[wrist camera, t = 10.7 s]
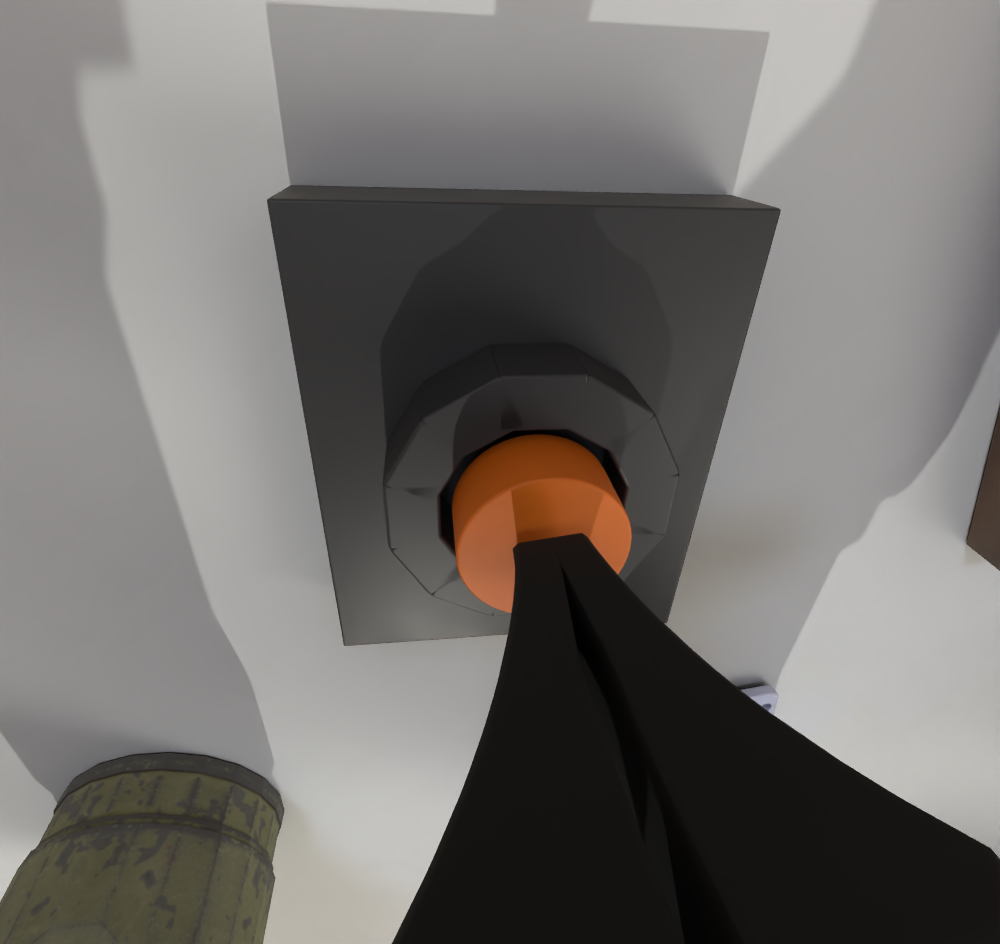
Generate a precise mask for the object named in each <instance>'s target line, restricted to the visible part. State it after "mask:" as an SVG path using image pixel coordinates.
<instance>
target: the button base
mask: <svg viewBox="0 0 1000 944" xmlns="http://www.w3.org/2000/svg"><path fill="white" fill-rule="evenodd" d="M267 204H268V209H269V215H270V221H271V227H272V233H273V238H274V244H275V250H276V256H277V261H278V267H279V273H280V279H281V285H282V290H283V296H284V302H285V308H286V313H287V319H288V325H289V331H290V336H291V342H292V348H293V354H294V360H295V365H296V371H297V377H298V383H299V388H300V394H301V400H302V406H303V412H304V417H305V423H306V429H307V435H308V440H309V446H310V452H311V458H312V463H313V469H314V475H315V481H316V487H317V492H318V498H319V504H320V510H321V515H322V521H323V527H324V533H325V539H326V544H327V550H328V556H329V562H330V567H331V573H332V579H333V585H334V590H335V596H336V602H337V608H338V614H339V619H340V625H341V631H342V637H343V642H344V645H345V646H350V645H364V644H378V643H392V642H405V641H419V640H433V639H447V638H461V637H475V636H489V635H503V634H508V632H509V625H510V619H511V613H508V612H505V611H502V610H498V609H496V608H494V607H491V606H489V605H488V604H486V603H484V602H482V601H481V600H480V599H478V598H477V597H476V596H475V595H474V594H473V593H472V592H471V591H470V590H469V589H468V588H467V586H466V585H465V584H464V582H463V581H462V578H461V576H460V574H459V571H458V568H457V563H456V553H455V540H454V528H453V515H452V499H453V495H454V490H455V488H456V485H457V483H458V481H459V479H460V477H461V475H462V474H463V472H464V471H465V470H466V468H467V467H468V466H469V465H470V464H471V463H472V462H473V461H474V460H475V459H476V458H477V457H478V456H479V455H480V454H482V453H483V452H484V451H486V450H487V449H489V448H491V447H492V446H494V445H496V444H498V443H501V442H503V441H505V440H508V439H511V438H515V437H519V436H524V435H534V434H544V435H553V436H559V437H562V438H566V439H569V440H571V441H574V442H576V443H578V444H580V445H581V446H583V447H585V448H586V449H587V450H589V451H590V452H591V453H592V454H593V455H594V456H595V457H596V458H597V459H598V460H599V462H600V463H601V465H602V466H603V468H604V470H605V472H606V474H607V476H608V478H609V480H610V482H611V484H612V486H613V488H614V489H615V491H616V493H617V495H618V497H619V499H620V501H621V503H622V505H623V507H624V509H625V511H626V513H627V516H628V518H629V521H630V525H631V534H632V539H631V547H630V551H629V554H628V557H627V560H626V562H625V564H624V566H623V568H622V569H621V571H620V572H619V574H618V575H619V576H620V578H621V579H622V580H623V581H624V582H625V583H626V584H627V585H628V587H629V588H630V589H631V590H632V591H633V592H634V593H635V594H636V595H637V596H638V597H639V598H640V599H641V600H642V601H643V602H644V603H645V604H646V606H647V607H648V608H649V609H650V610H651V611H652V612H653V613H654V614H655V615H656V616H657V617H658V618H659V619H660V620H661V621H662V622H663V623H667V621H668V617H669V614H670V610H671V606H672V603H673V599H674V596H675V592H676V588H677V585H678V581H679V577H680V574H681V570H682V567H683V563H684V559H685V556H686V552H687V548H688V545H689V541H690V538H691V534H692V530H693V527H694V523H695V519H696V516H697V512H698V509H699V505H700V501H701V498H702V494H703V490H704V487H705V483H706V480H707V476H708V472H709V469H710V465H711V461H712V458H713V454H714V451H715V447H716V443H717V440H718V436H719V432H720V429H721V425H722V422H723V418H724V414H725V411H726V407H727V404H728V400H729V396H730V393H731V389H732V385H733V382H734V378H735V375H736V371H737V367H738V364H739V360H740V356H741V353H742V349H743V346H744V342H745V338H746V335H747V331H748V327H749V324H750V320H751V317H752V313H753V309H754V306H755V302H756V298H757V295H758V291H759V288H760V284H761V280H762V277H763V273H764V269H765V266H766V262H767V259H768V255H769V251H770V248H771V244H772V240H773V237H774V233H775V230H776V226H777V222H778V219H779V215H780V209H779V208H776V207H772V206H769V205H765V204H761V203H758V202H754V201H750V200H747V199H743V198H739V197H736V196H732V195H703V194H658V193H613V192H568V191H523V190H478V189H433V188H388V187H343V186H298V185H291V186H289V187H288V188H286V189H284V190H282V191H281V192H279V193H277V194H276V195H274V196H272V197H271V198H269V199H268V200H267Z"/></svg>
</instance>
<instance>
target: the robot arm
mask: <svg viewBox="0 0 1000 944" xmlns="http://www.w3.org/2000/svg"><path fill="white" fill-rule="evenodd" d="M513 556H514V564H515V584H514V597H513V605H512V612H511V619H510V625H509V632H508V637H507V642H506V647H505V651H504V656H503V660H502V665H501V669H500V674H499V678H498V682H497V686H496V689H495V693H494V697H493V700H492V704H491V707H490V711H489V714H488V717H487V720H486V724H485V727H484V730H483V733H482V736H481V739H480V742H479V745H478V748H477V750H476V753H475V756H474V759H473V762H472V765H471V768H470V770H469V773H468V776H467V778H466V781H465V784H464V786H463V789H462V791H461V794H460V797H459V799H458V801H457V804H456V806H455V808H454V811H453V813H452V816H451V818H450V820H449V823H448V825H447V827H446V830H445V832H444V834H443V837H442V839H441V841H440V844H439V846H438V848H437V851H436V853H435V856H434V858H433V860H432V862H431V864H430V867H429V869H428V871H427V873H426V875H425V877H424V879H423V881H422V884H421V886H420V888H419V890H418V892H417V894H416V896H415V898H414V900H413V902H412V904H411V906H410V908H409V910H408V912H407V914H406V916H405V918H404V920H403V922H402V924H401V926H400V928H399V930H398V932H397V934H396V936H395V938H394V941H393V943H392V944H1000V859H999V858H998V856H997V855H996V854H995V853H994V852H993V851H992V849H991V848H989V847H987V846H985V845H984V844H982V843H980V842H978V841H976V840H975V839H973V838H971V837H969V836H967V835H966V834H964V833H962V832H960V831H959V830H957V829H955V828H953V827H951V826H950V825H948V824H946V823H944V822H942V821H941V820H939V819H937V818H935V817H933V816H932V815H930V814H928V813H926V812H924V811H923V810H921V809H919V808H917V807H916V806H914V805H912V804H910V803H908V802H907V801H905V800H903V799H901V798H900V797H898V796H896V795H895V794H893V793H891V792H890V791H888V790H886V789H885V788H883V787H881V786H880V785H878V784H877V783H875V782H873V781H872V780H870V779H869V778H867V777H865V776H864V775H862V774H861V773H859V772H857V771H856V770H854V769H853V768H851V767H849V766H848V765H846V764H845V763H843V762H841V761H840V760H838V759H837V758H835V757H834V756H832V755H831V754H830V753H828V752H827V751H825V750H824V749H822V748H821V747H819V746H818V745H816V744H815V743H813V742H812V741H811V740H809V739H808V738H806V737H805V736H803V735H802V734H800V733H799V732H797V731H796V730H794V729H793V728H792V727H790V726H789V725H787V724H786V723H784V722H783V721H781V720H780V719H778V718H777V717H775V716H774V715H773V714H774V711H775V707H776V703H777V700H778V694H777V692H776V691H775V689H774V688H773V687H772V686H768V685H767V686H759V687H754V688H748V689H742V690H740V689H738V688H737V687H736V686H735V685H734V684H732V683H731V682H730V681H729V680H727V679H726V678H725V677H724V676H722V675H721V674H720V673H719V672H717V671H716V670H715V669H714V668H713V667H712V666H710V665H709V664H708V663H707V662H706V661H705V660H703V659H702V658H701V657H700V656H699V655H698V654H697V653H695V652H694V651H693V650H692V649H691V648H690V647H689V646H688V645H687V644H686V643H684V642H683V641H682V640H681V639H680V638H679V637H678V636H677V635H676V634H675V633H674V632H673V631H672V630H670V629H669V628H668V627H667V626H666V625H665V624H664V623H663V622H662V621H661V620H660V619H659V618H658V617H657V616H656V615H655V614H654V613H653V612H652V611H651V610H650V609H649V608H648V607H647V606H646V604H645V603H644V602H643V601H642V600H641V599H640V598H639V597H638V596H637V595H636V594H635V593H634V592H633V591H632V590H631V589H630V588H629V587H628V585H627V584H626V583H625V582H624V581H623V580H622V579H621V578H620V576H619V575H618V574H617V573H616V572H615V571H614V569H613V568H612V567H611V566H610V565H609V564H608V562H607V561H606V560H605V559H604V558H603V556H602V555H601V554H600V553H599V551H598V550H597V549H596V547H595V546H594V545H593V543H592V542H591V541H590V539H589V538H588V537H587V536H586V535H584V534H583V533H577V534H571V535H565V536H558V537H552V538H546V539H540V540H534V541H527V542H521V543H518V544H517V545H516V546H515V547H514V548H513Z"/></svg>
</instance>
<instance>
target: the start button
mask: <svg viewBox="0 0 1000 944" xmlns="http://www.w3.org/2000/svg"><path fill="white" fill-rule="evenodd" d="M452 515H453V528H454V540H455V553H456V563H457V568H458V571H459V574H460V576H461V578H462V581H463V582H464V584H465V585H466V586H467V588H468V589H469V590H470V591H471V592H472V593H473V594H474V595H475V596H476V597H477V598H478V599H480V600H481V601H482V602H484V603H486V604H488V605H489V606H491V607H494V608H496V609H498V610H502V611H505V612H508V613H511V612H512V605H513V597H514V584H515V564H514V556H513V548H514V547H515V546H516V545H517V544H518V543H521V542H527V541H534V540H540V539H546V538H552V537H558V536H565V535H571V534H577V533H583V534H584V535H586V536H587V537H588V538H589V539H590V541H591V542H592V543H593V545H594V546H595V547H596V549H597V550H598V551H599V553H600V554H601V555H602V556H603V558H604V559H605V560H606V561H607V562H608V564H609V565H610V566H611V567H612V568H613V569H614V571H615V572H616V573H617V574H619V572H620V571H621V569H622V568H623V566H624V564H625V562H626V560H627V557H628V554H629V551H630V547H631V539H632V534H631V525H630V521H629V518H628V516H627V513H626V511H625V509H624V507H623V505H622V503H621V501H620V499H619V497H618V495H617V493H616V491H615V489H614V488H613V486H612V484H611V482H610V480H609V478H608V476H607V474H606V472H605V470H604V468H603V466H602V465H601V463H600V462H599V460H598V459H597V458H596V457H595V456H594V455H593V454H592V453H591V452H590V451H589V450H587V449H586V448H585V447H583V446H581V445H580V444H578V443H576V442H574V441H571V440H569V439H566V438H562V437H559V436H553V435H544V434H534V435H524V436H519V437H515V438H511V439H508V440H505V441H503V442H501V443H498V444H496V445H494V446H492V447H491V448H489V449H487V450H486V451H484V452H483V453H482V454H480V455H479V456H478V457H477V458H476V459H475V460H474V461H473V462H472V463H471V464H470V465H469V466H468V467H467V468H466V470H465V471H464V472H463V474H462V475H461V477H460V479H459V481H458V483H457V485H456V488H455V490H454V495H453V499H452Z"/></svg>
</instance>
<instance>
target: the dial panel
mask: <svg viewBox="0 0 1000 944" xmlns="http://www.w3.org/2000/svg"><path fill="white" fill-rule="evenodd" d="M967 545H968V546H969V547H971V548H972V549H973V550H974V551H976V552H977V553H978V554H979V555H981V556H982V557H983V558H984V559H986V560H987V561H988V562H989V563H991V564H992V565H993V566H994V567H996V568H997V569H998V570H999V571H1000V411H999V415H998V419H997V423H996V427H995V431H994V435H993V439H992V443H991V447H990V451H989V455H988V459H987V463H986V467H985V471H984V475H983V479H982V483H981V487H980V491H979V495H978V499H977V503H976V507H975V511H974V515H973V519H972V523H971V527H970V531H969V535H968V539H967Z"/></svg>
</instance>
